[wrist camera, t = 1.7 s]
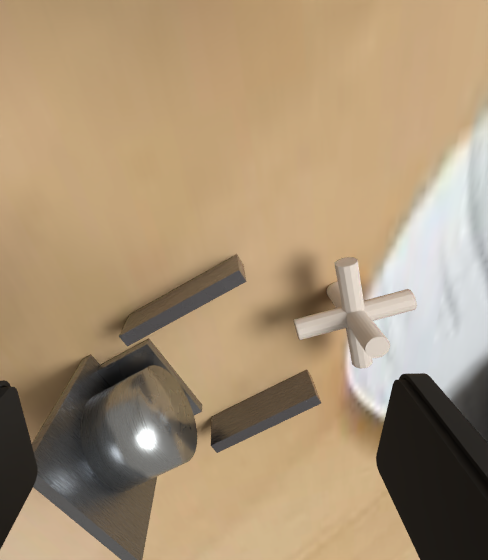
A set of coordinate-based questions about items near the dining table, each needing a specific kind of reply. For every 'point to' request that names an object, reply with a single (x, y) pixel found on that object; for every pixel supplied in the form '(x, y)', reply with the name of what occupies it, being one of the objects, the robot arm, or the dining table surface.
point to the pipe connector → (356, 314)
